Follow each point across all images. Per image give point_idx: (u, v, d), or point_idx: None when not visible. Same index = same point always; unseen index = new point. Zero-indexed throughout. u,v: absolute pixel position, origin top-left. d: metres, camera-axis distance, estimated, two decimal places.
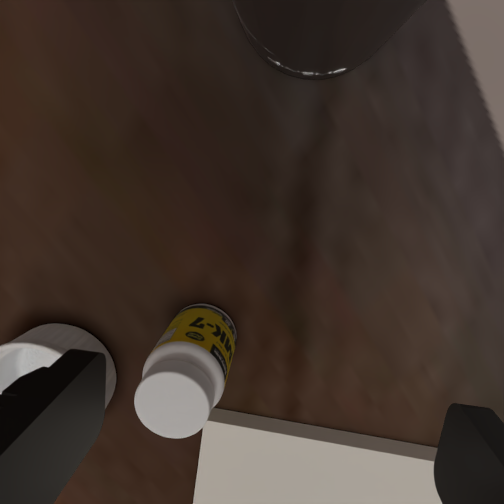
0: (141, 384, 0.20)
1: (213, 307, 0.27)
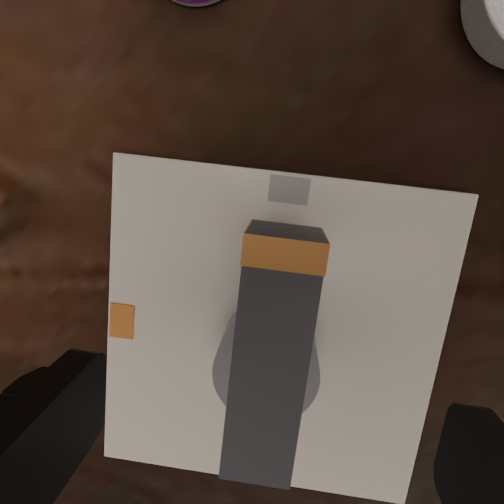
0: None
1: None
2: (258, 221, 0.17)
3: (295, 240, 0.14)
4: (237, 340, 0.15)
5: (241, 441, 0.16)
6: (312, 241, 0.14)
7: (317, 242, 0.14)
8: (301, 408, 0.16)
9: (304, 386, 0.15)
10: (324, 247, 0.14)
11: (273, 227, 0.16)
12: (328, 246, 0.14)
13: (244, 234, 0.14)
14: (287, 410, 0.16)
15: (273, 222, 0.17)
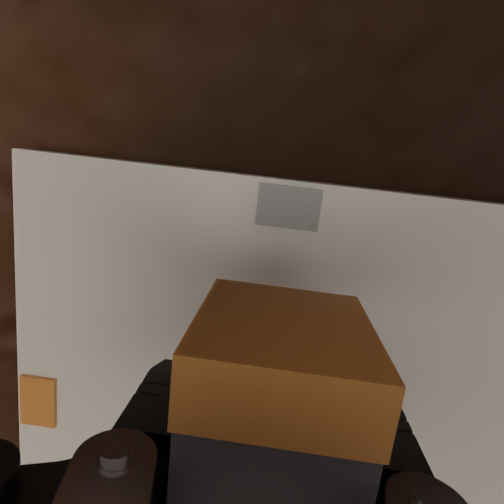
0: None
1: None
2: (228, 286, 0.08)
3: (312, 375, 0.05)
4: None
5: None
6: (356, 376, 0.05)
7: (370, 380, 0.05)
8: None
9: None
10: (389, 394, 0.05)
11: (257, 309, 0.07)
12: (401, 394, 0.05)
13: (175, 357, 0.05)
14: None
15: (259, 287, 0.09)
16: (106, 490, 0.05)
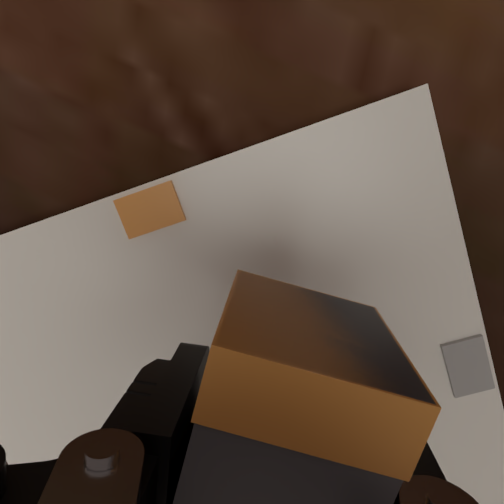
0: None
1: None
2: (250, 279, 0.08)
3: (350, 384, 0.05)
4: None
5: None
6: (392, 390, 0.05)
7: (406, 396, 0.05)
8: None
9: None
10: (423, 412, 0.05)
11: (283, 308, 0.07)
12: (436, 414, 0.05)
13: (213, 348, 0.05)
14: None
15: (280, 284, 0.08)
16: (92, 489, 0.05)
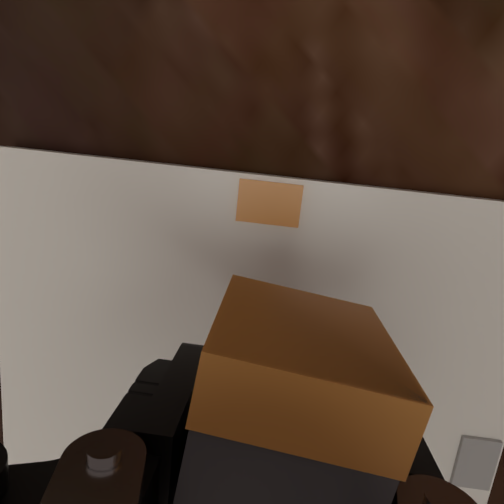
0: None
1: None
2: (245, 284, 0.08)
3: (341, 386, 0.05)
4: None
5: None
6: (384, 390, 0.05)
7: (398, 396, 0.05)
8: None
9: None
10: (415, 412, 0.05)
11: (277, 311, 0.07)
12: (428, 413, 0.05)
13: (203, 354, 0.05)
14: None
15: (276, 287, 0.08)
16: (95, 490, 0.05)
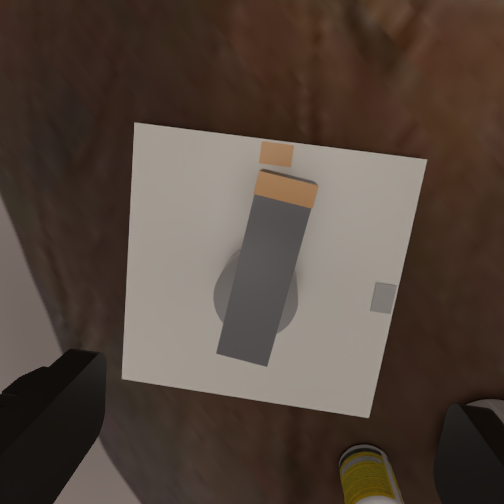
0: None
1: None
2: None
3: (295, 180, 0.20)
4: (244, 249, 0.21)
5: (237, 326, 0.22)
6: (306, 182, 0.20)
7: (310, 183, 0.20)
8: (283, 305, 0.22)
9: (287, 288, 0.22)
10: (314, 187, 0.20)
11: (279, 173, 0.22)
12: (317, 187, 0.20)
13: (259, 171, 0.20)
14: (273, 305, 0.22)
15: (278, 172, 0.23)
16: None
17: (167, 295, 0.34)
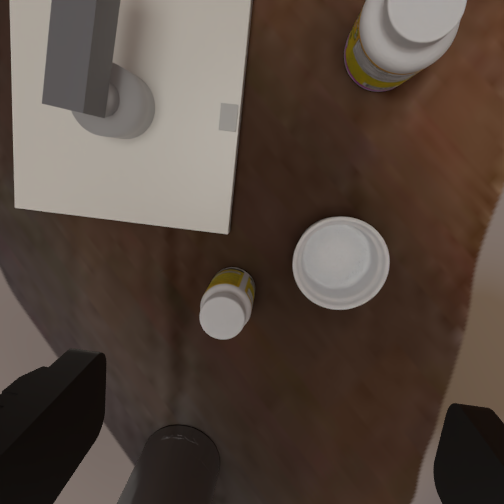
0: (239, 331, 0.35)
1: None
2: None
3: None
4: (53, 5, 0.26)
5: (55, 76, 0.27)
6: None
7: None
8: (89, 54, 0.27)
9: (91, 39, 0.27)
10: None
11: None
12: None
13: None
14: (81, 55, 0.27)
15: None
16: None
17: (47, 124, 0.39)
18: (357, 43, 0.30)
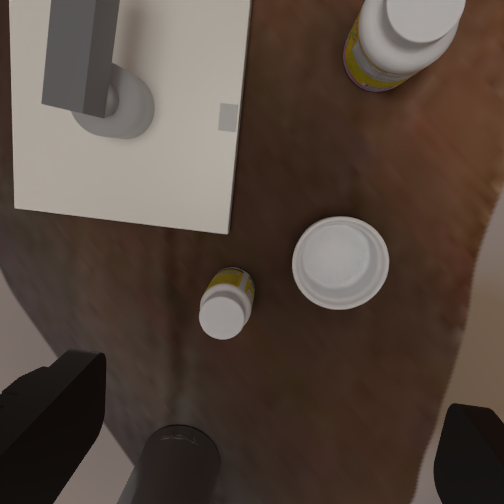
0: (239, 331, 0.35)
1: None
2: None
3: None
4: (52, 5, 0.27)
5: (55, 76, 0.28)
6: None
7: None
8: (88, 54, 0.27)
9: (90, 39, 0.27)
10: None
11: None
12: None
13: None
14: (80, 55, 0.27)
15: None
16: None
17: (47, 125, 0.39)
18: (356, 43, 0.30)
